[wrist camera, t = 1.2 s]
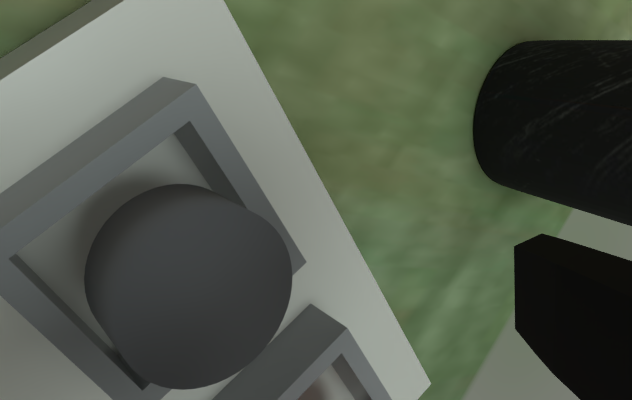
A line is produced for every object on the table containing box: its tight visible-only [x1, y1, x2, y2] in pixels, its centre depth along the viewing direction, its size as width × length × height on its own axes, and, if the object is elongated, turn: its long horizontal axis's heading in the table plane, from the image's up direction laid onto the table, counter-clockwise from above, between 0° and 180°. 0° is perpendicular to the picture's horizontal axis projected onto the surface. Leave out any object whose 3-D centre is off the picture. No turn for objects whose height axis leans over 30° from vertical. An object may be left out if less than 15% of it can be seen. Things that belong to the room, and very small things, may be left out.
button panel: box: [0, 0, 431, 400], centre depth 18 cm, size 11×19×5 cm, turn 31°
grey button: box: [84, 184, 292, 390], centre depth 13 cm, size 4×4×2 cm
